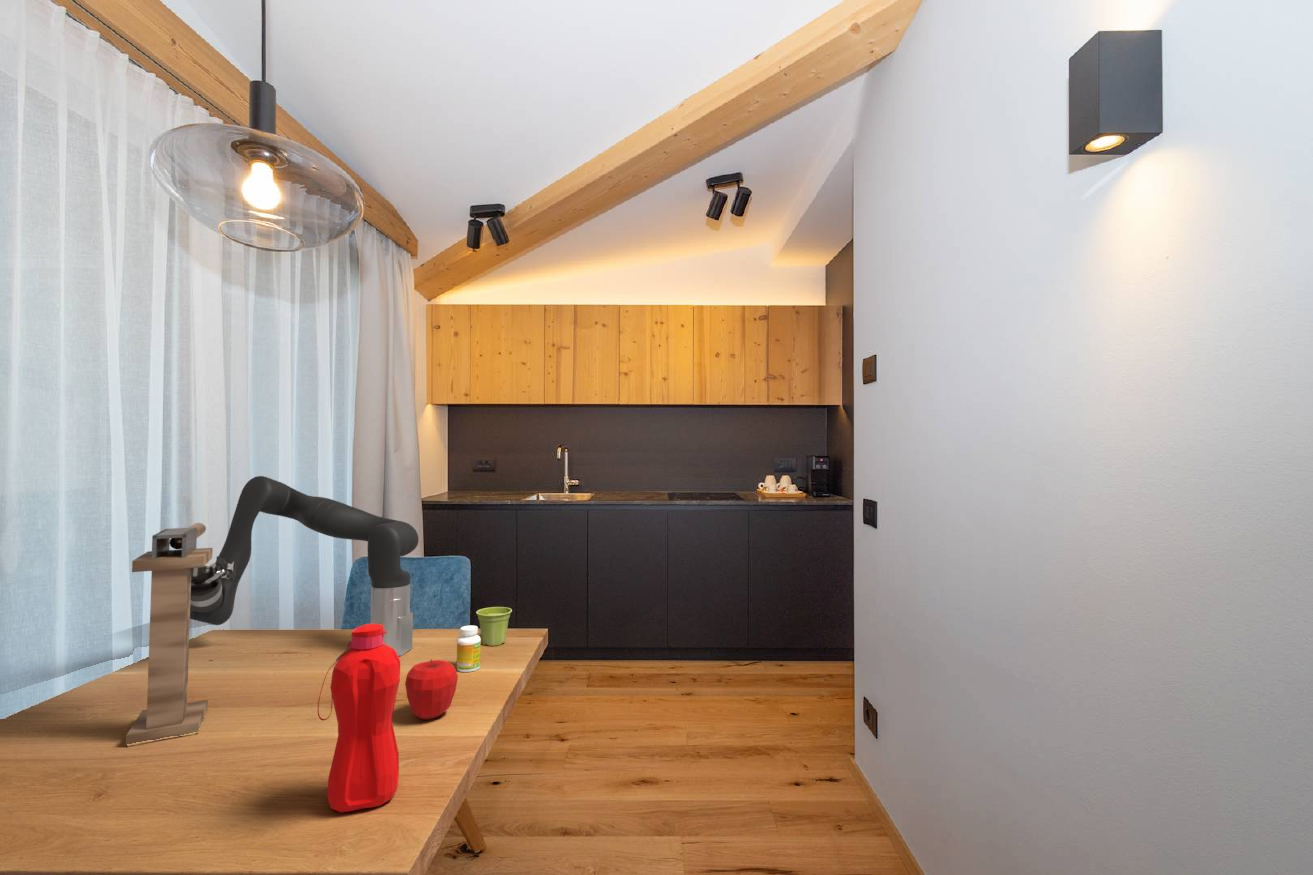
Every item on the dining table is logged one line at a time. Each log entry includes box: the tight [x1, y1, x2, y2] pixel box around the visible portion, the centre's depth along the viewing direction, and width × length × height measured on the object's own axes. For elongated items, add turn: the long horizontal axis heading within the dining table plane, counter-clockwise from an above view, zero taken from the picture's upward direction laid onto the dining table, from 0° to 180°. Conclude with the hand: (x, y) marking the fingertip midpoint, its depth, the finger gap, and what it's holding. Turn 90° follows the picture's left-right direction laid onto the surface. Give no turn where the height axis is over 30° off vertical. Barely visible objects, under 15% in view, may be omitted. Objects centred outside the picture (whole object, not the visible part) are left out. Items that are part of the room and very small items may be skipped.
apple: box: [404, 659, 459, 720], centre depth 116 cm, size 10×10×11 cm
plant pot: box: [475, 606, 513, 647], centre depth 162 cm, size 9×9×9 cm
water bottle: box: [317, 623, 401, 814], centre depth 88 cm, size 9×11×25 cm
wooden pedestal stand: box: [125, 547, 213, 746], centre depth 111 cm, size 12×10×32 cm
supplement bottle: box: [456, 625, 482, 673], centre depth 142 cm, size 5×5×10 cm
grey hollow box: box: [151, 527, 198, 559], centre depth 112 cm, size 12×5×4 cm, turn 30°
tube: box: [169, 522, 207, 550], centre depth 125 cm, size 24×3×3 cm, turn 31°
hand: (194, 561), depth 132 cm, fingers open, 8 cm apart
